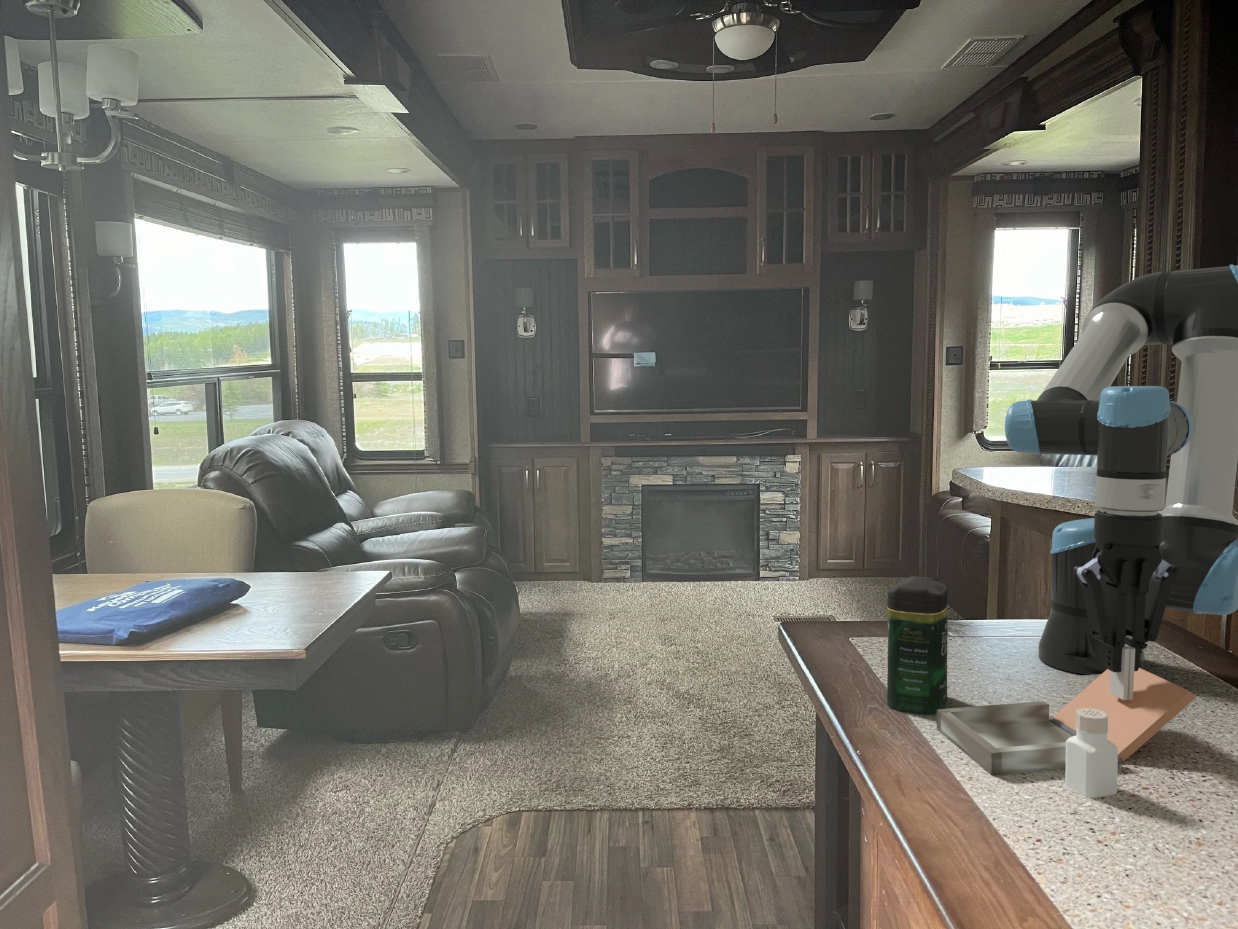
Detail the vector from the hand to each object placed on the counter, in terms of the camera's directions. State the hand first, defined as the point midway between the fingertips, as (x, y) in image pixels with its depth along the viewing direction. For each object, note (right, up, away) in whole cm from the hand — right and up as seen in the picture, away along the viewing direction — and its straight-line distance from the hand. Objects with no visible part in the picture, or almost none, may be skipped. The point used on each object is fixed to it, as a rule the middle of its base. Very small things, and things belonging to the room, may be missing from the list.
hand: (1121, 695), depth 114 cm
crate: (-13, -7, -1) cm, 15 cm away
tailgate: (-5, -6, 0) cm, 7 cm away
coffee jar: (-21, -6, +15) cm, 26 cm away
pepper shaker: (-10, -8, -13) cm, 18 cm away
